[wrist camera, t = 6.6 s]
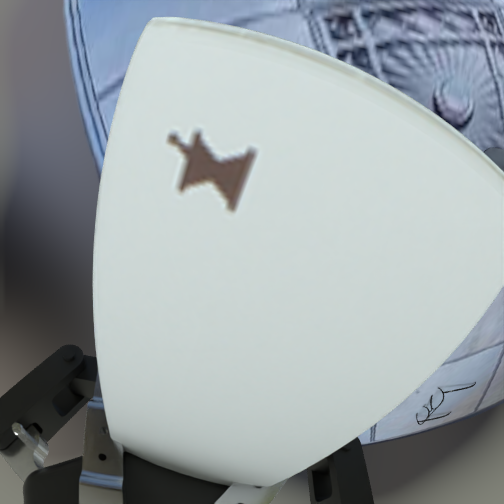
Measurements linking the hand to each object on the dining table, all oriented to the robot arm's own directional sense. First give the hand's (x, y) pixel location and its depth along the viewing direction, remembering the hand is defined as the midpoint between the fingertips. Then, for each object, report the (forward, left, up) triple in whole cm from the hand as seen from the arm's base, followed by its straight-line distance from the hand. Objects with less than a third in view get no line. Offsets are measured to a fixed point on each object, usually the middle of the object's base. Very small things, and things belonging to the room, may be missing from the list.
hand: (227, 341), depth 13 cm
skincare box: (0, 0, -9) cm, 9 cm away
